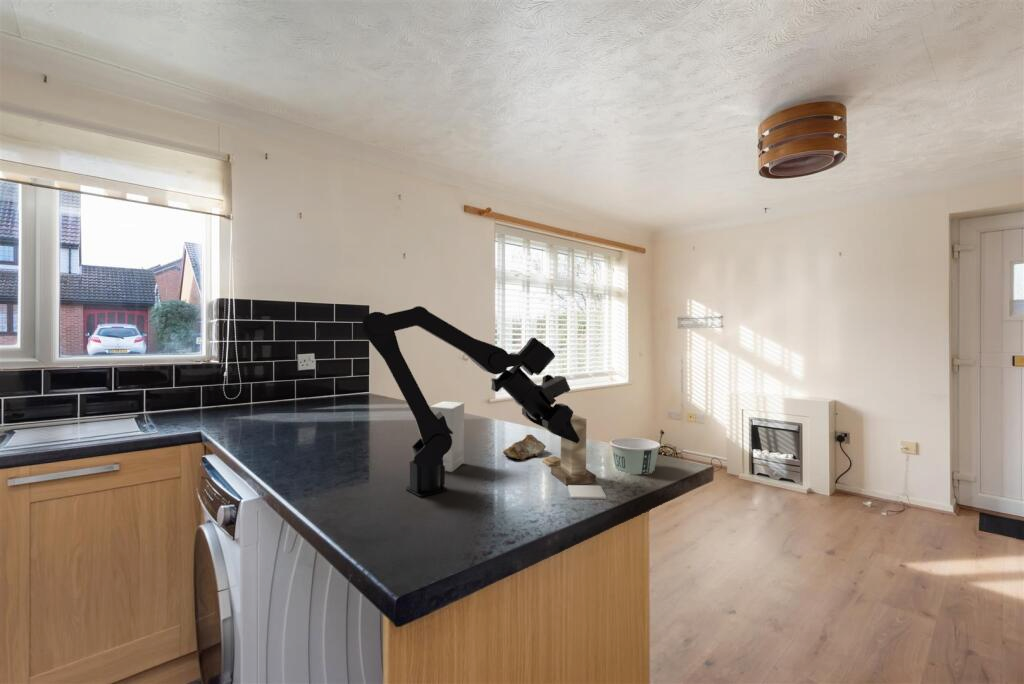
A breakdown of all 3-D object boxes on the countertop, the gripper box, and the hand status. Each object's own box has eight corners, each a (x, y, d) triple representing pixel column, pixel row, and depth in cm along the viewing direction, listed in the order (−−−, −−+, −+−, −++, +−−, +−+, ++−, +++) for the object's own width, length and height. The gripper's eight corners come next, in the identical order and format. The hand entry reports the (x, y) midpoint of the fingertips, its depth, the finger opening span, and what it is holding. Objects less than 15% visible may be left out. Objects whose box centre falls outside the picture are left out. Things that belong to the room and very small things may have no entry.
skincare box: (441, 461, 120) (441, 400, 119) (465, 463, 118) (466, 402, 118) (427, 470, 112) (427, 405, 111) (453, 472, 110) (453, 406, 110)
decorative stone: (551, 434, 130) (526, 452, 118) (552, 449, 131) (527, 468, 118) (521, 430, 135) (494, 446, 122) (522, 444, 136) (495, 462, 123)
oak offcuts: (549, 466, 116) (549, 461, 116) (542, 461, 120) (542, 456, 120) (565, 465, 117) (565, 460, 117) (557, 460, 121) (557, 455, 121)
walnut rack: (566, 485, 101) (566, 478, 101) (551, 473, 110) (551, 466, 110) (596, 482, 103) (596, 475, 103) (579, 471, 112) (579, 464, 112)
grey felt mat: (571, 498, 93) (571, 496, 93) (567, 487, 100) (567, 485, 100) (606, 498, 93) (606, 496, 93) (600, 487, 100) (600, 485, 100)
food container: (671, 472, 112) (671, 445, 112) (633, 479, 106) (634, 451, 106) (635, 460, 122) (635, 435, 122) (599, 466, 116) (599, 440, 116)
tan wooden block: (571, 482, 103) (571, 419, 103) (560, 474, 109) (561, 415, 109) (585, 481, 104) (586, 419, 104) (574, 473, 110) (575, 414, 110)
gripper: (564, 367, 95) (612, 418, 99) (534, 361, 113) (576, 405, 117) (527, 407, 93) (578, 457, 97) (503, 395, 111) (546, 438, 115)
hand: (569, 437), depth 106 cm, fingers open, 9 cm apart
